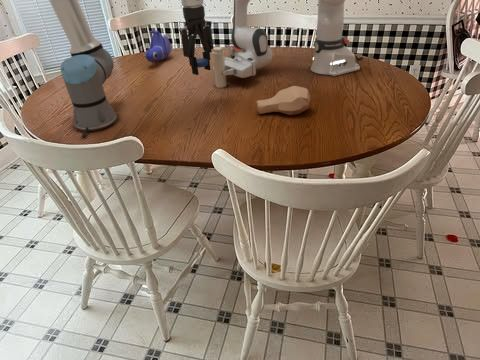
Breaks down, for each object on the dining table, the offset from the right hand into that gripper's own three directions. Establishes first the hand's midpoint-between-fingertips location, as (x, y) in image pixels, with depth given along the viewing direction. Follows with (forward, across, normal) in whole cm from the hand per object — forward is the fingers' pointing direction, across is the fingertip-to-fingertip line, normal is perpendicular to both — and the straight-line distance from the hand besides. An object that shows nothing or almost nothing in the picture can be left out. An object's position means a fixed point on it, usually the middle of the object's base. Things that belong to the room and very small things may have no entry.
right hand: (218, 71), depth 152 cm
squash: (0, +38, +6) cm, 39 cm away
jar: (-1, 0, +6) cm, 6 cm away
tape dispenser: (-32, -22, +6) cm, 39 cm away
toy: (+1, -52, +6) cm, 52 cm away
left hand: (+14, +8, -6) cm, 17 cm away
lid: (+14, +8, -10) cm, 19 cm away
